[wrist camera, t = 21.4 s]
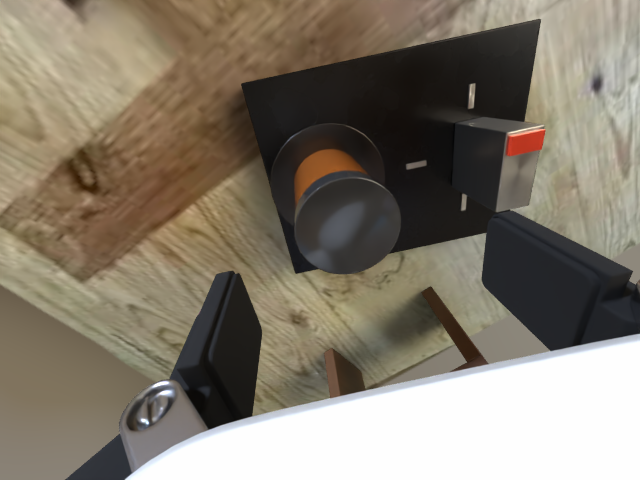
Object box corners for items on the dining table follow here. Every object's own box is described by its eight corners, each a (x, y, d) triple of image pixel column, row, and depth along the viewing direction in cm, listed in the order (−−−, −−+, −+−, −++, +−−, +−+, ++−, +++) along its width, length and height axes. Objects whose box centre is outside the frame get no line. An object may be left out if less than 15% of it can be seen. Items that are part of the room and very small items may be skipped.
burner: (387, 221, 21) (388, 224, 21) (286, 243, 21) (286, 246, 21) (378, 110, 17) (380, 110, 17) (255, 137, 17) (255, 137, 17)
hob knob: (477, 181, 20) (532, 207, 16) (451, 187, 20) (498, 214, 16) (483, 116, 18) (549, 124, 14) (454, 122, 18) (510, 132, 14)
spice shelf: (454, 317, 31) (516, 402, 22) (353, 376, 34) (374, 470, 25) (430, 286, 28) (491, 368, 20) (323, 352, 31) (336, 448, 23)
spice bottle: (367, 210, 20) (403, 263, 14) (301, 224, 20) (307, 283, 14) (359, 139, 18) (399, 165, 11) (284, 156, 18) (282, 191, 11)
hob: (491, 215, 25) (512, 228, 23) (294, 258, 25) (295, 275, 23) (516, 26, 18) (550, 16, 16) (246, 84, 18) (240, 83, 16)
